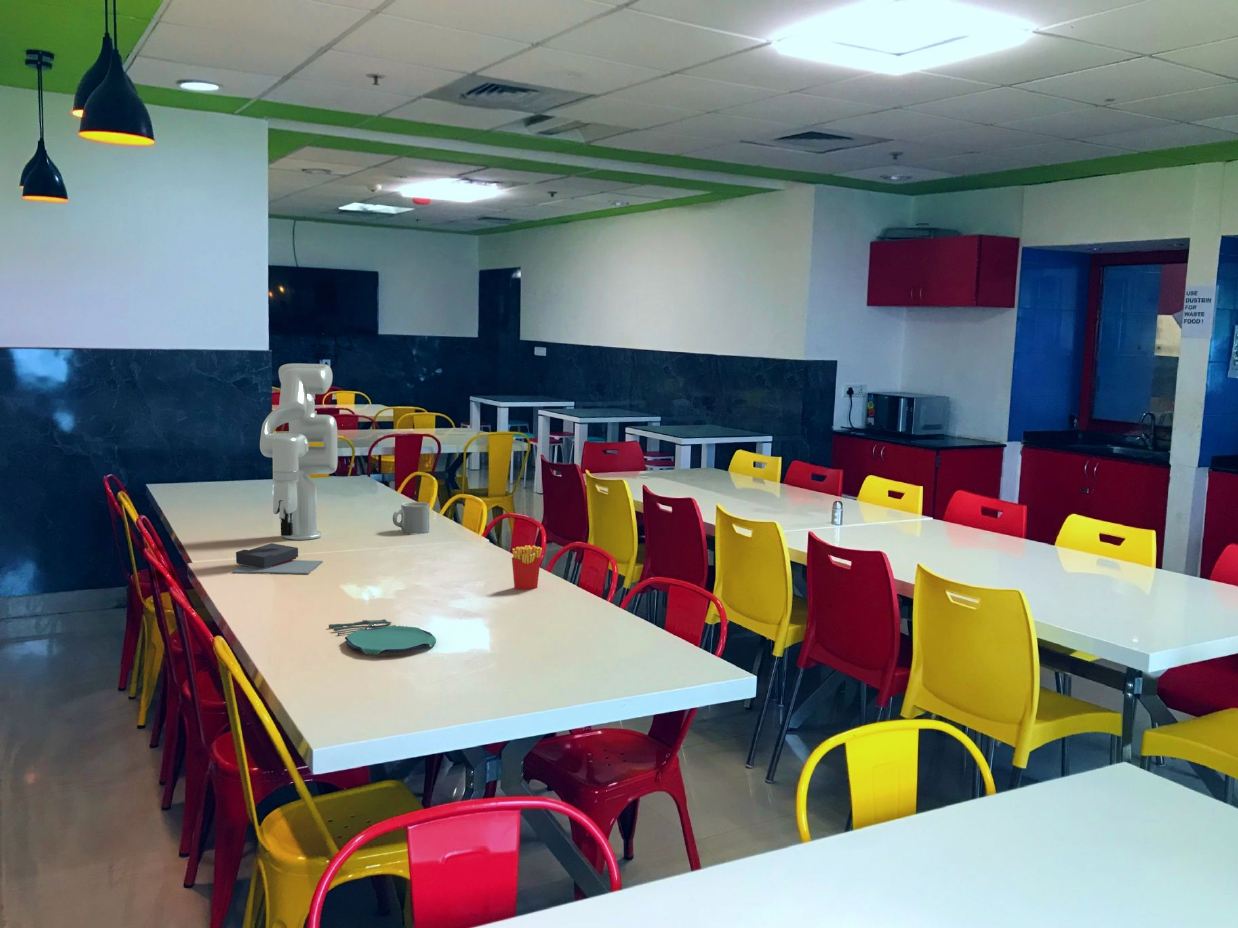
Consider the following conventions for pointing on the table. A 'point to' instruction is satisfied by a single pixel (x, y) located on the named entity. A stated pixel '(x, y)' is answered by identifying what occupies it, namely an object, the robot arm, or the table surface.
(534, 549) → the french fries
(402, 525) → the coffee mug
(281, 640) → the table surface
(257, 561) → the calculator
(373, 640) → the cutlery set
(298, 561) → the mat
